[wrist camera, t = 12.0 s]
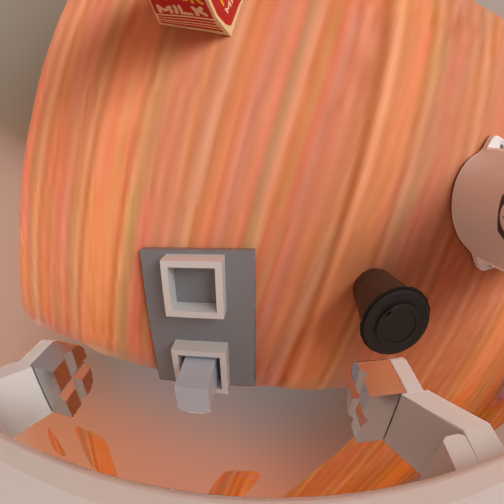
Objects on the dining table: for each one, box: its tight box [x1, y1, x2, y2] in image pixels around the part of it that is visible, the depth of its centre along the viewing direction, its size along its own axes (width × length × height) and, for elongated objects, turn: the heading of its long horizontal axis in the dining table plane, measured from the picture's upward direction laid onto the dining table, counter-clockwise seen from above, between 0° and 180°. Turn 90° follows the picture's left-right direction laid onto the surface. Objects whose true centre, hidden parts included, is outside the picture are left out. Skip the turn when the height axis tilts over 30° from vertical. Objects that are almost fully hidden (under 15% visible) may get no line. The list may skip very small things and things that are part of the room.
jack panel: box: [140, 247, 255, 394], centre depth 39 cm, size 14×20×4 cm
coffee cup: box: [353, 268, 430, 354], centre depth 34 cm, size 8×8×10 cm
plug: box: [174, 356, 219, 414], centre depth 38 cm, size 4×5×8 cm
